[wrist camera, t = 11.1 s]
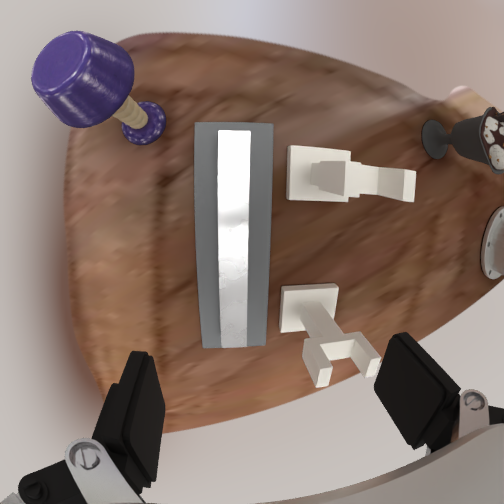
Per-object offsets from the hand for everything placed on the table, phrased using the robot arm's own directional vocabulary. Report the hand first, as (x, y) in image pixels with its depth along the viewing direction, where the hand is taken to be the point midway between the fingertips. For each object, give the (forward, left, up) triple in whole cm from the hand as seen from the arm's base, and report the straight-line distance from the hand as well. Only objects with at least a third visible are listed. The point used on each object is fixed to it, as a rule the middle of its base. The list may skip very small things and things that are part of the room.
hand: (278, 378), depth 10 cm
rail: (+1, 0, -16) cm, 16 cm away
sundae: (-24, -13, -18) cm, 32 cm away
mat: (0, 0, -18) cm, 18 cm away
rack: (-8, 0, -18) cm, 20 cm away
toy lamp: (+8, -12, -18) cm, 23 cm away
